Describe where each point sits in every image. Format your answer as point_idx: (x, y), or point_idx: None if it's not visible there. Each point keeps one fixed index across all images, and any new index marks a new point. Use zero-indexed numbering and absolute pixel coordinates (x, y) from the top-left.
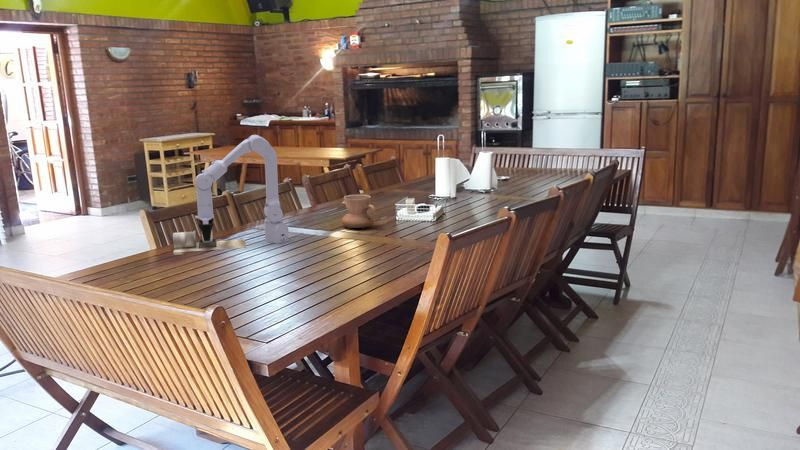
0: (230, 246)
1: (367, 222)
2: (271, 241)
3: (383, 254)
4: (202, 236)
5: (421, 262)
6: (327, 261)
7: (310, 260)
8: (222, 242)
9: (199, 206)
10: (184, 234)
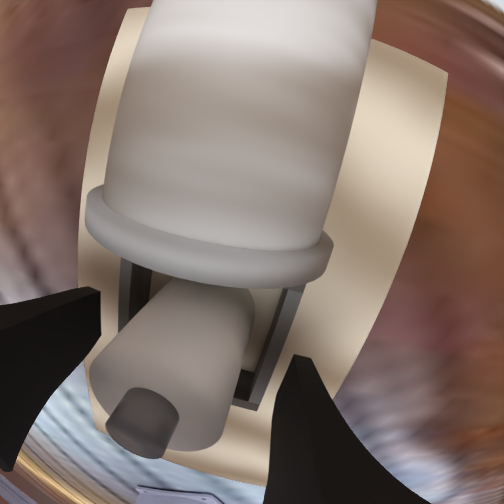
0: None
1: None
2: (161, 501)
3: (53, 492)
4: (149, 313)
5: (22, 476)
6: None
7: None
8: (261, 414)
9: None
10: (143, 52)
